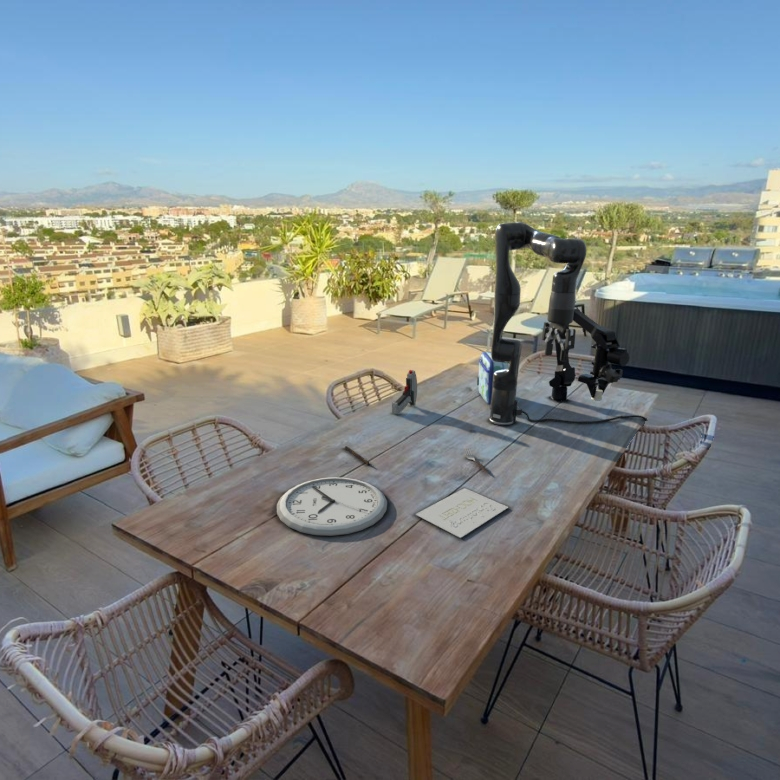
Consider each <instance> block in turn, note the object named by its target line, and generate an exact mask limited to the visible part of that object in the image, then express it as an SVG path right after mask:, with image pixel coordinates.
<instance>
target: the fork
mask: <svg viewBox="0 0 780 780" xmlns="http://www.w3.org/2000/svg"><path fill="white" fill-rule="evenodd" d="M463 450H464V453H465V456H466V458H467V460H472V461H474V463H475V464H476V465H477V467H479V468H480V469H481V470H482V471H483V472H485V473H486V474H488V470H486V468H485V467H484V466H483V464H482V463H480V462H479V461H477V460H476V459H475V456H474V454H473V452H472V449H471V448H463Z"/></svg>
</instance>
